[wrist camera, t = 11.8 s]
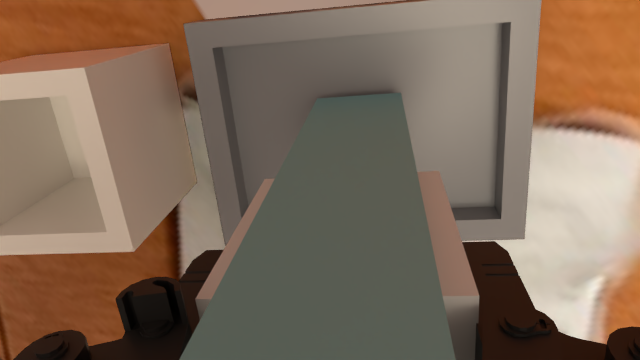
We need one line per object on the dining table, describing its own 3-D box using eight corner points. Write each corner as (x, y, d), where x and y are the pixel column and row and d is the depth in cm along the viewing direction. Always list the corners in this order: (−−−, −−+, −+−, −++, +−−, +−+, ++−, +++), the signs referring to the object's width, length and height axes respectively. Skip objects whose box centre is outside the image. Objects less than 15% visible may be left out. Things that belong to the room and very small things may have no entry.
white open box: (72, 188, 30) (-28, 255, 22) (32, 55, 27) (-100, 83, 19) (197, 182, 29) (134, 251, 21) (168, 43, 26) (83, 67, 18)
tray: (237, 226, 29) (225, 247, 27) (201, 19, 25) (183, 23, 23) (512, 217, 27) (524, 239, 25) (525, -11, 23) (542, -11, 20)
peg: (324, 175, 25) (217, 561, 8) (317, 98, 23) (168, 380, 7) (403, 171, 24) (457, 576, 8) (400, 92, 23) (460, 384, 6)
